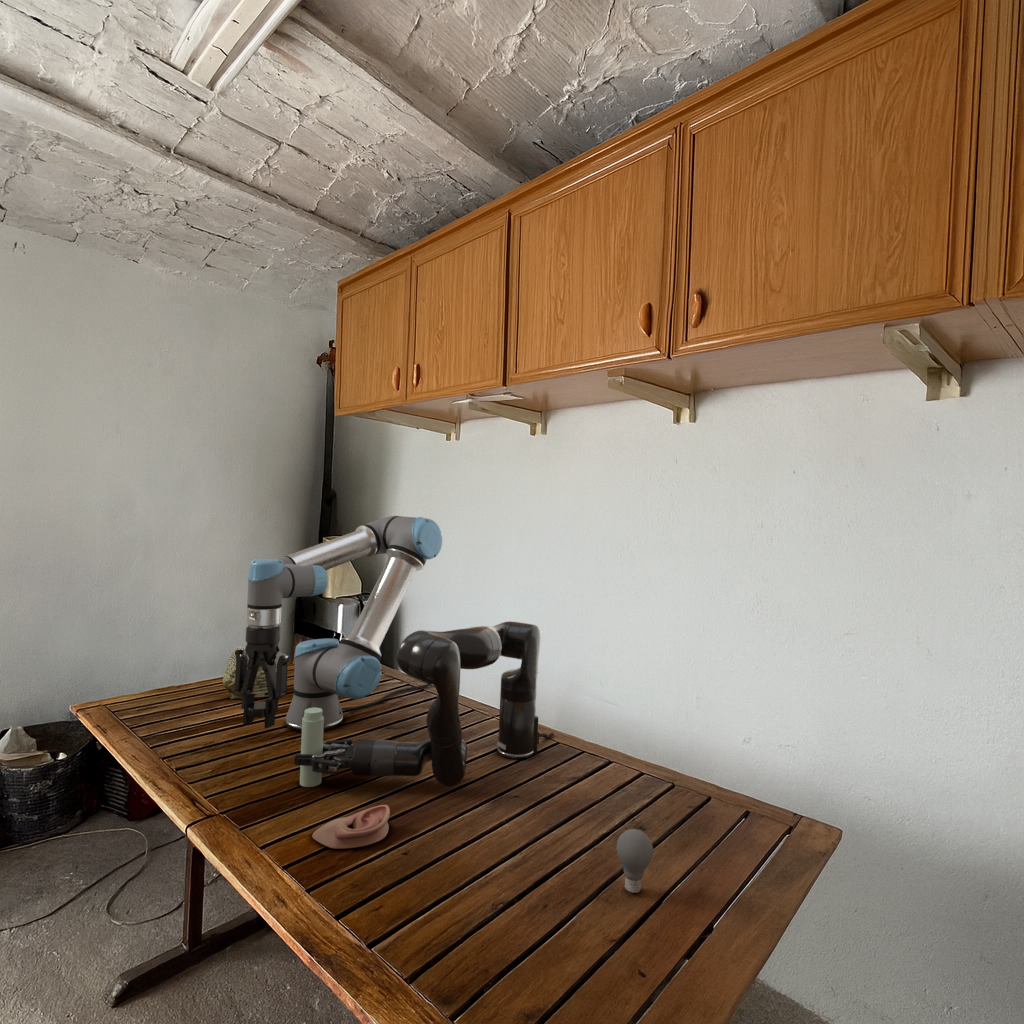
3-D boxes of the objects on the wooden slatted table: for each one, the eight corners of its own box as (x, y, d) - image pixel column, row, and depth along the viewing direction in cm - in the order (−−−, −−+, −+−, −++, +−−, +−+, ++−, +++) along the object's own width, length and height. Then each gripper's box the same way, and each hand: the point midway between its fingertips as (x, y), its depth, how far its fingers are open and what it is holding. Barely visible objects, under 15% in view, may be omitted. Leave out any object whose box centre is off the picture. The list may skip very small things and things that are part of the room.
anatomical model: (304, 822, 115) (334, 794, 126) (303, 844, 115) (333, 813, 126) (372, 833, 112) (397, 803, 124) (371, 855, 113) (396, 823, 124)
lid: (251, 709, 150) (251, 701, 150) (274, 710, 151) (274, 702, 151) (243, 717, 145) (243, 708, 145) (267, 718, 145) (267, 709, 145)
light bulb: (610, 879, 108) (613, 822, 108) (644, 879, 109) (647, 822, 109) (619, 902, 102) (622, 840, 102) (655, 901, 103) (658, 840, 103)
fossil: (218, 695, 195) (220, 647, 195) (278, 685, 208) (279, 640, 207) (228, 703, 189) (230, 653, 188) (289, 692, 201) (290, 645, 201)
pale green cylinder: (314, 788, 137) (317, 714, 137) (295, 785, 138) (298, 712, 138) (325, 779, 142) (328, 708, 142) (306, 776, 143) (309, 705, 143)
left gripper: (219, 624, 147) (214, 724, 147) (287, 632, 141) (282, 735, 142) (242, 619, 154) (237, 714, 154) (306, 626, 149) (302, 725, 149)
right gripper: (383, 729, 147) (309, 726, 147) (370, 753, 133) (288, 750, 133) (382, 761, 147) (308, 758, 147) (368, 789, 133) (287, 786, 133)
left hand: (258, 724), depth 148 cm, fingers closed on lid, 5 cm apart
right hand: (299, 754), depth 140 cm, fingers closed on pale green cylinder, 4 cm apart
